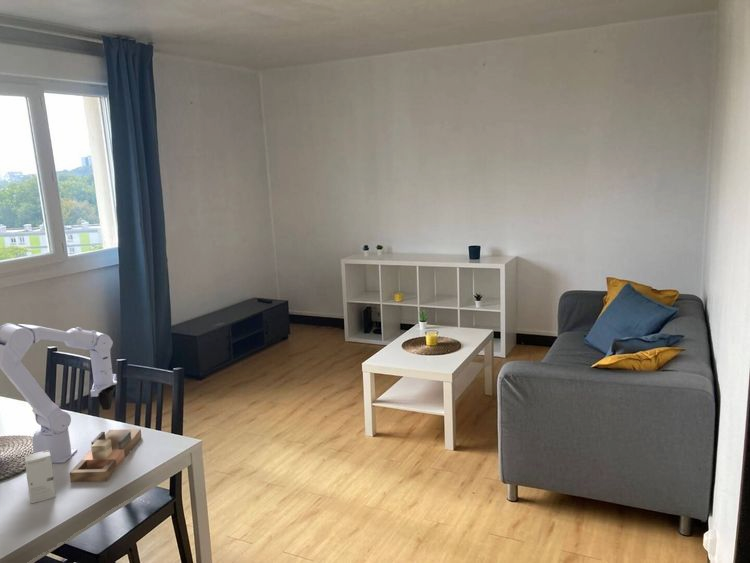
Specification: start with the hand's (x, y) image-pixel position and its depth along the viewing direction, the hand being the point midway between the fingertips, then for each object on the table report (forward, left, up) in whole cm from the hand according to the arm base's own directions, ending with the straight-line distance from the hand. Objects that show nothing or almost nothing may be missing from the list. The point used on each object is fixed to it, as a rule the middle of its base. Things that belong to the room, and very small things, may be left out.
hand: (106, 408), depth 193 cm
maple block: (+6, -19, -6) cm, 21 cm away
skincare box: (-3, -36, -10) cm, 37 cm away
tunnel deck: (+6, -15, -9) cm, 19 cm away
